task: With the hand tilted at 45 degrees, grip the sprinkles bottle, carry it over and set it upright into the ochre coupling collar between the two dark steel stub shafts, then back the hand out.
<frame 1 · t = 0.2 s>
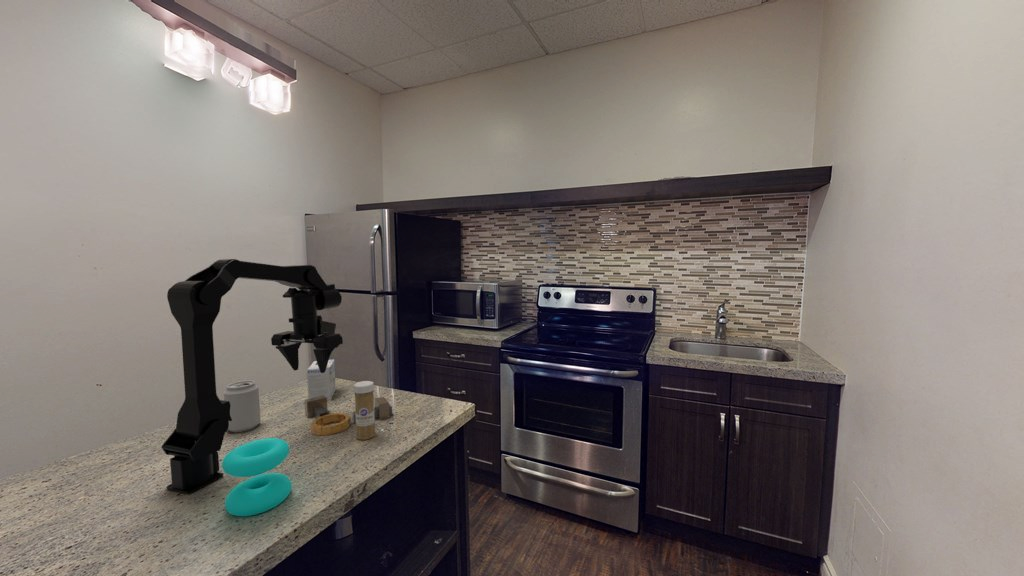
hand: (309, 371, 100), 15 cm above the counter, tool pointing down, fingers open, 9 cm apart
coupling jig: (331, 427, 99), on the counter
light bulb box: (322, 396, 124), on the counter
donuts: (260, 502, 68), on the counter
sprinkles bottle: (366, 437, 94), on the counter
can: (244, 428, 100), on the counter
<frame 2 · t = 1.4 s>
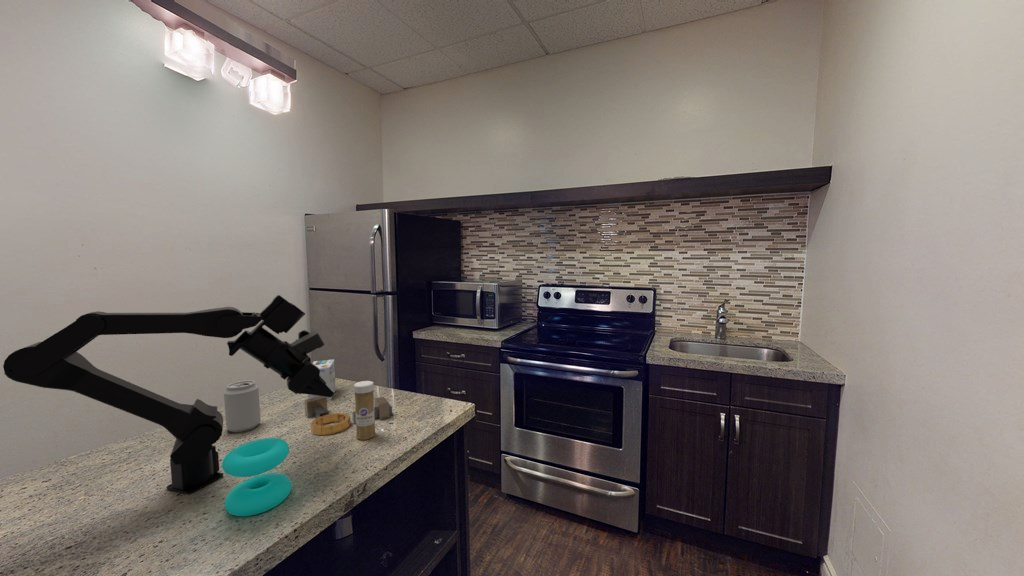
hand: (328, 389, 88), 13 cm above the counter, tool tilted 45°, fingers open, 9 cm apart
nothing on the counter moved.
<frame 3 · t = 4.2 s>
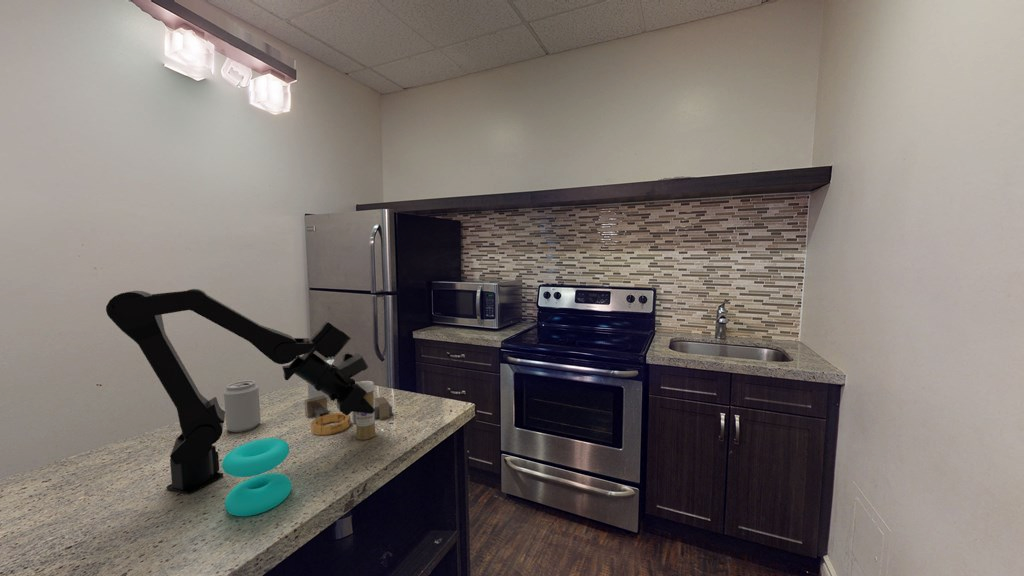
hand: (370, 408, 94), 7 cm above the counter, tool tilted 45°, fingers closed on sprinkles bottle, 4 cm apart
sprinkles bottle: (366, 437, 94), on the counter, touching gripper
everything else where it was.
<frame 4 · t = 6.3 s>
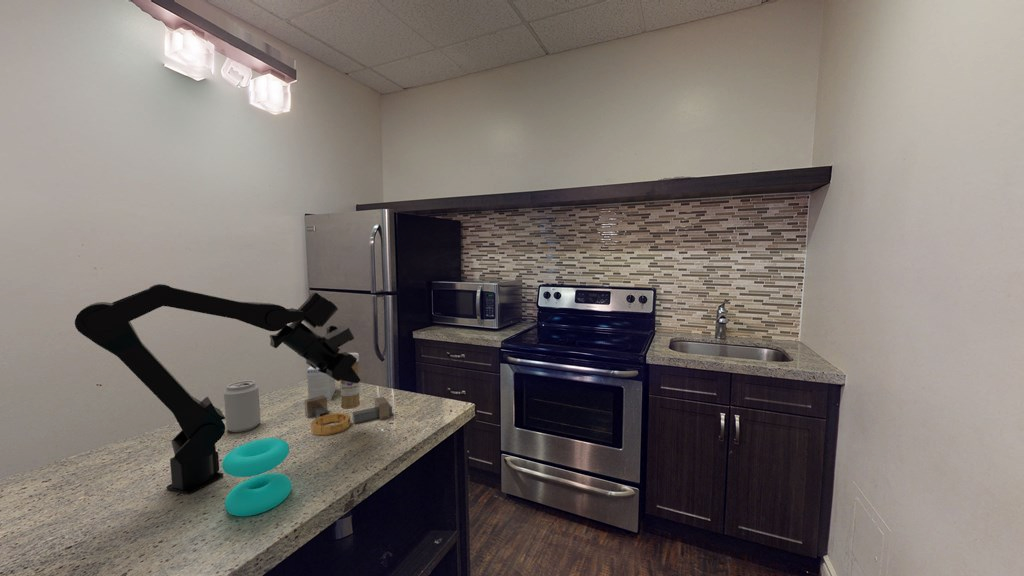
hand: (355, 379, 96), 13 cm above the counter, tool tilted 45°, fingers closed on sprinkles bottle, 4 cm apart
sprinkles bottle: (350, 407, 96), point 6 cm above the counter, touching gripper
everything else where it was.
when the fingers open (8 cm above the counter, at t = 8.6 s): sprinkles bottle drops 1 cm, resting in coupling jig.
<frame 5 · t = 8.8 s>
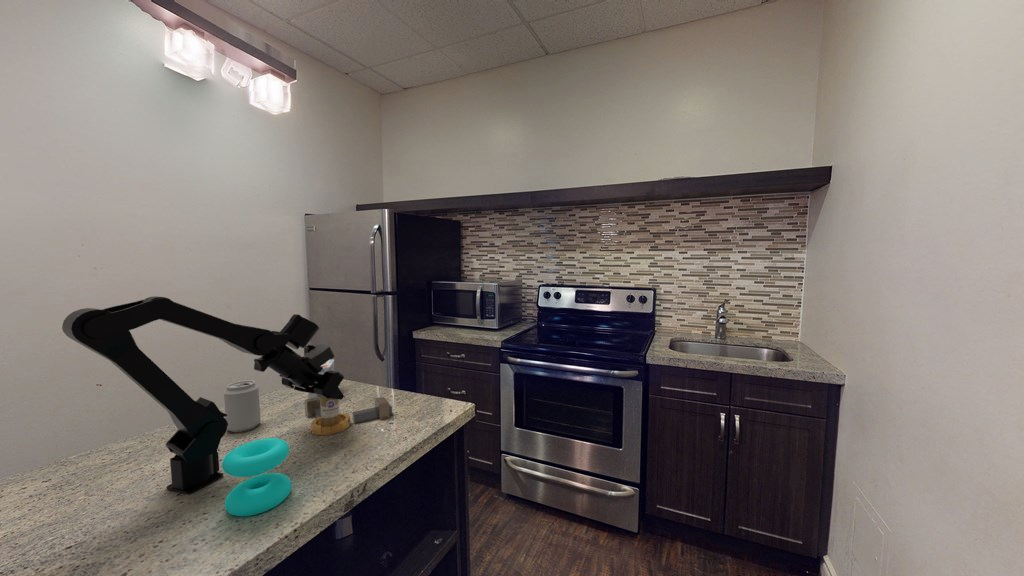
hand: (334, 395, 100), 8 cm above the counter, tool tilted 45°, fingers open, 6 cm apart
sprinkles bottle: (330, 428, 99), resting in coupling jig
everything else where it was.
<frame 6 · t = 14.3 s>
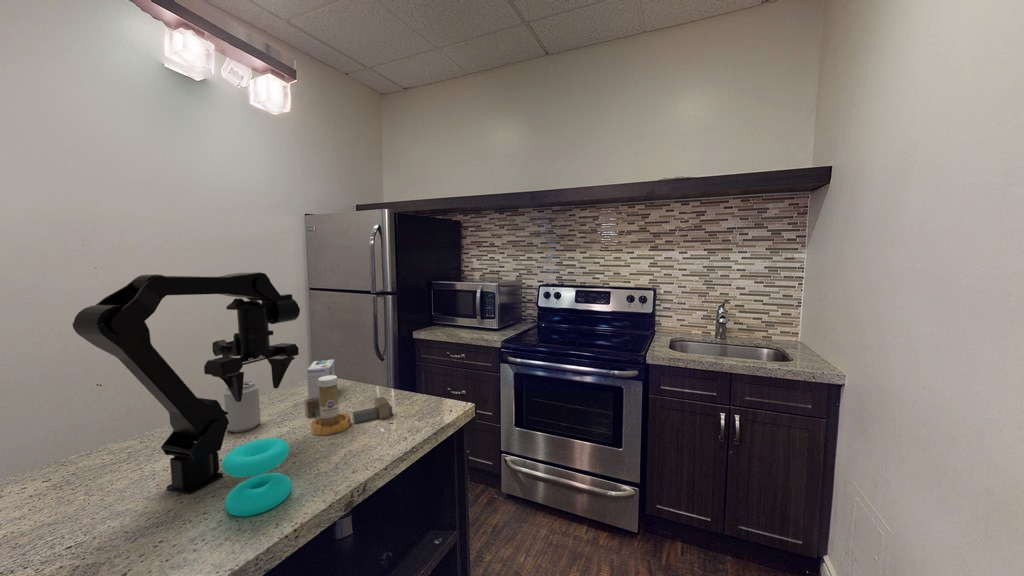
hand: (258, 394, 87), 13 cm above the counter, tool pointing down, fingers open, 9 cm apart
nothing on the counter moved.
at the end: sprinkles bottle 0.2 cm off-centre on the coupling jig, point 0.0 cm above the coupling jig's base; sprinkles bottle tilted 0°; the gripper is holding nothing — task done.
